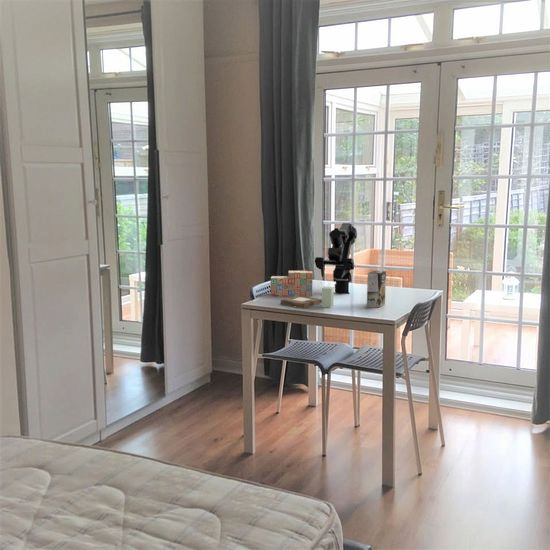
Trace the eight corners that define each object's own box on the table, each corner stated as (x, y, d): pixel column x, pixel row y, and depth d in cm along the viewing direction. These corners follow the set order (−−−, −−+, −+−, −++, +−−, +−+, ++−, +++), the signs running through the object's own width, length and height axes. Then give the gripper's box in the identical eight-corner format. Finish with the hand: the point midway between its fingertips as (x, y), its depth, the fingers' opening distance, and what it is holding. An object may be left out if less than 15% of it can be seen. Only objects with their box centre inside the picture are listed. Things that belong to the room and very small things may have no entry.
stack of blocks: (270, 296, 313) (270, 272, 311) (271, 293, 319) (271, 270, 317) (312, 296, 312) (312, 272, 310) (312, 294, 318) (312, 270, 316)
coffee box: (379, 308, 284) (380, 273, 281) (366, 306, 287) (367, 272, 284) (385, 304, 292) (386, 270, 289) (372, 303, 295) (373, 269, 292)
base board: (299, 299, 304) (299, 295, 303) (321, 303, 295) (321, 298, 294) (280, 304, 293) (280, 299, 293) (303, 308, 284) (303, 303, 284)
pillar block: (324, 305, 291) (324, 286, 289) (333, 305, 289) (333, 287, 288) (321, 307, 286) (321, 288, 285) (331, 307, 285) (331, 288, 283)
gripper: (315, 240, 298) (309, 266, 289) (353, 241, 292) (348, 268, 284) (319, 254, 307) (313, 280, 298) (356, 256, 301) (351, 281, 292)
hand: (331, 277), depth 293 cm, fingers open, 9 cm apart
